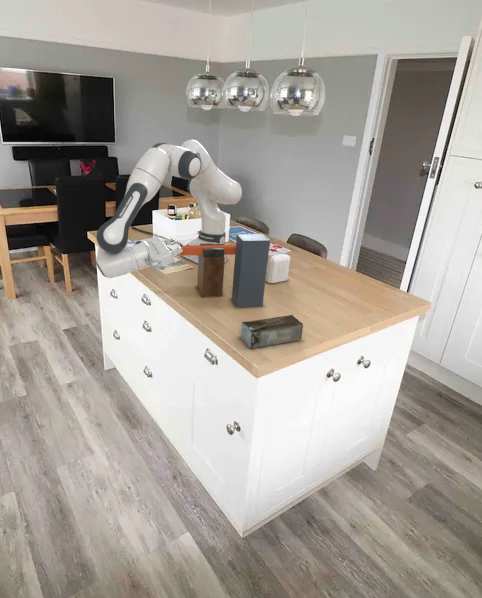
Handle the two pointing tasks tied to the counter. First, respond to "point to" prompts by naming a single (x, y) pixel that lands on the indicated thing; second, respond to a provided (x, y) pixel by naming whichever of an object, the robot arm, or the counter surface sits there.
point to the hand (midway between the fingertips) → (178, 245)
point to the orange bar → (199, 248)
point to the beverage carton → (271, 331)
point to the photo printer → (278, 268)
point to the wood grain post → (211, 271)
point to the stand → (250, 270)
